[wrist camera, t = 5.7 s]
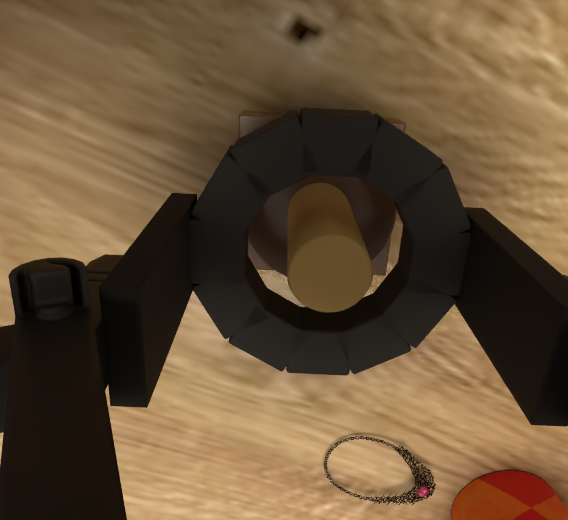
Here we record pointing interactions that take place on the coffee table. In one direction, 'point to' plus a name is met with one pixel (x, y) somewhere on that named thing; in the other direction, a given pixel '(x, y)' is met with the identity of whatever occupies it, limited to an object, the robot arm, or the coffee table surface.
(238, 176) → the ring
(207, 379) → the coffee table surface
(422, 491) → the necklace
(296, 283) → the ring stand
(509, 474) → the coffee cup
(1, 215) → the coffee table surface
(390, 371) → the coffee table surface
